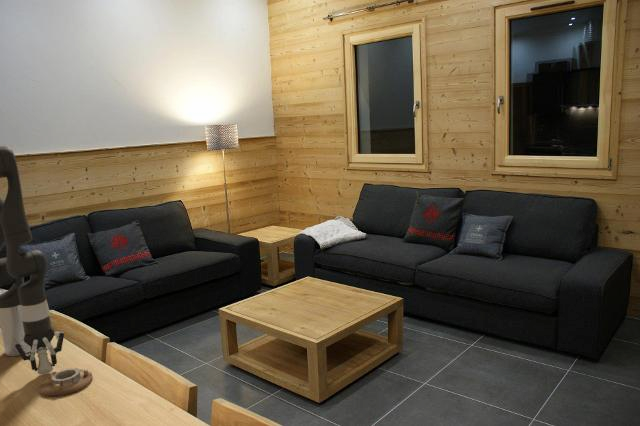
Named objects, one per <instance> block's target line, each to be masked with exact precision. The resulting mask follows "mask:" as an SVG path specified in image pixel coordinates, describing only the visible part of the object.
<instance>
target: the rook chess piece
mask: <svg viewBox="0 0 640 426" xmlns="http://www.w3.org/2000/svg"><path fill="white" fill-rule="evenodd" d="M48 351H49V350H48V348H47V347H41V348H39V349H36V353H35V354H37V357H38V365H37V374H39V375H47V374H49V373H52V371H53V369H54V366H52V362H50V360H49V356H48Z"/></svg>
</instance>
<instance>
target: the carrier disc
mask: <svg viewBox="0 0 640 426" xmlns="http://www.w3.org/2000/svg"><path fill="white" fill-rule="evenodd" d="M92 382H93V374H92V372H91V371H90V370H88V369H81V368H80V369H79V368H73V367H70V368H66V369H62V370H58V371H53V372H51V376H50V377H48V378H46V379H45V380H44V381H43V382H42V383H41V384H40V386H39V387H40V388H39V389H40V393H41V394H42V395H43V396H45V397H48V398H49V397H50V398H52V397H54V398H55V397H63V396H67V395H72V394H74V393H77V392H80V391H81V390H83V389H85V388H87V387H88V386H89V385H91V383H92Z"/></svg>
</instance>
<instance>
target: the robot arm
mask: <svg viewBox="0 0 640 426" xmlns="http://www.w3.org/2000/svg"><path fill="white" fill-rule="evenodd" d="M1 178H6V180H7V191H6V192H7V193H6V196H5V199H3V198H2V197H0V252H1V251H2V249H3V248H4V246H5V248H6V257H2V258H0V287H4V286H9V285H12V286H11V287H9V289H7V290H6V291H5V292H4V293H1V294H0V333H1V337H2V344H3V349H4V354H5V356H6V357H7V356H8V357H16V356H17V357H18V356H20V358H21V359H22V360H23V361H24V362H25V361H29V362H30V365H31V366H30V367H31V370H32V371H34V372H38V370H37V368H38V365H37V360H36V356H35V355H36V354H37V353H36V351H37V349H39V348H41V347H46V348H47V349H48V350H47V351H49V353H50V360H51V364H52V367H56V364H58V361H57V360H58V359H57V356H56V355H57V353H60V352H61V351H62V350H63V349H62V348H63V345H64V344H63V343H64V338H65V333H64V331H63V330H60V331H54V329H53V327H52V325H53V324H52V320H51V316H50V315H51V314H50V313H51V312H50V308H49V304H48V301H47V297H46V291H45V290H46V289H45V279H46V272H47V264H48V263H47V262H48V260H47V257H46V255H45V254H44V252H43V251H41V250H38V249H34V250H33V249H32V250H29V251H26V252H22V253H21V252H20V248H21V247H23V246H24V245H27V244H29V243H31V242H32V241H33V235H32V231H31V227H30V225H29V221H28V218H27V214H26V210H25V206H24V205H25V204H24V197H23V191H22V185H21V180H20V173H19V167H18V163H17V158H16V156H15V153H14V151H13V149H12V148H11V147H9V146H7V145H0V179H1ZM19 252H20V253H19ZM29 276H30V278H29V280H27V281H25V277H29ZM54 337H55V338H56V339H57V343H56V347H53V344H52V340H53V338H54ZM28 353H29V354H28Z"/></svg>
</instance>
